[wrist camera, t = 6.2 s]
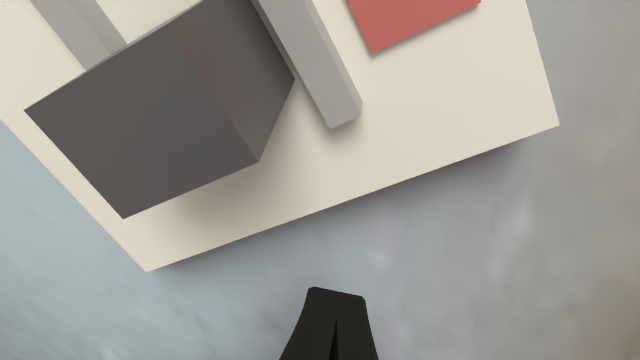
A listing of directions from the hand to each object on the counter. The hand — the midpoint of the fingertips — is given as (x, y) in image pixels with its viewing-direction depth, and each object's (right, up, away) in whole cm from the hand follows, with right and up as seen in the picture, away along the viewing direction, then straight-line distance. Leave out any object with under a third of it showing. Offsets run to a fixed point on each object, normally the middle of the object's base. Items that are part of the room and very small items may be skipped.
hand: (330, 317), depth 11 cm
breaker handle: (-3, +6, -1) cm, 7 cm away
